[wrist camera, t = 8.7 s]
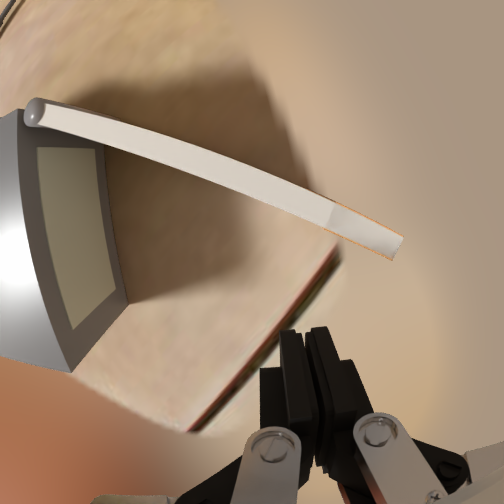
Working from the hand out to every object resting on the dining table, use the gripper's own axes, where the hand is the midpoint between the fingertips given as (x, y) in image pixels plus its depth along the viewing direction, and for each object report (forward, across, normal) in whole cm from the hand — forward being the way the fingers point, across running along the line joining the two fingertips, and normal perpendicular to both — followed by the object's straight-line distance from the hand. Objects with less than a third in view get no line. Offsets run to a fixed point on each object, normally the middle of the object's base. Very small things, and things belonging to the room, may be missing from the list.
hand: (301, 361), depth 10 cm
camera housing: (+11, +18, -4) cm, 21 cm away
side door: (+11, +4, -7) cm, 13 cm away
